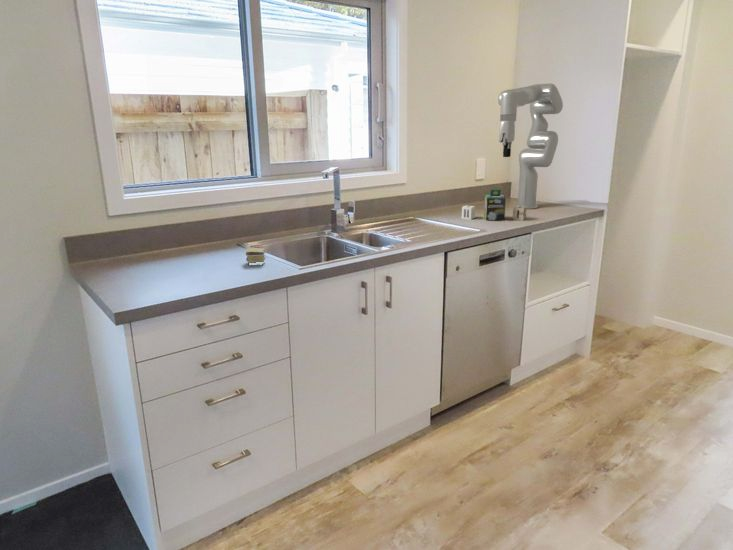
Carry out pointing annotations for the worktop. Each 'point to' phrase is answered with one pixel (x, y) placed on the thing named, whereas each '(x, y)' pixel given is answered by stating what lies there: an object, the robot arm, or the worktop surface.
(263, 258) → the stacked layers on plate
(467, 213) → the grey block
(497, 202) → the green boxy container
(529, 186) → the robot arm
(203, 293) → the worktop surface
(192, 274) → the worktop surface
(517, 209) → the birch block
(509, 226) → the worktop surface
